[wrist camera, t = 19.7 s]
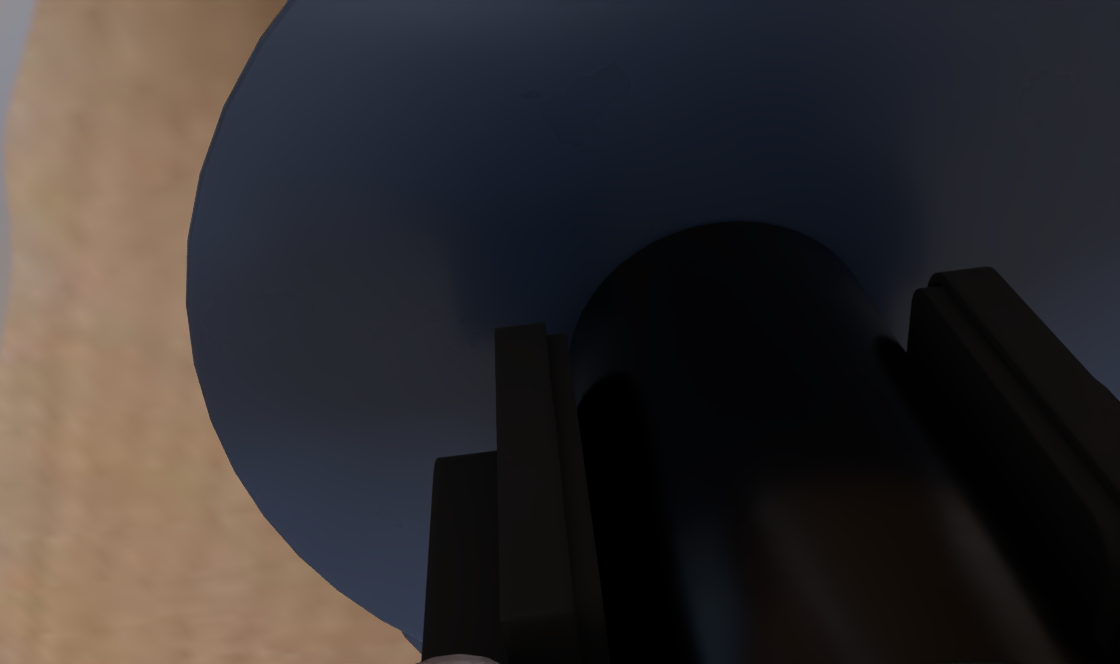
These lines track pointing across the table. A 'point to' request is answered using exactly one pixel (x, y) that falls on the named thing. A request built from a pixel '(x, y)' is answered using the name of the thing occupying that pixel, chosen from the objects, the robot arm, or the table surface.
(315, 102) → the lid
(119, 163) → the table surface
